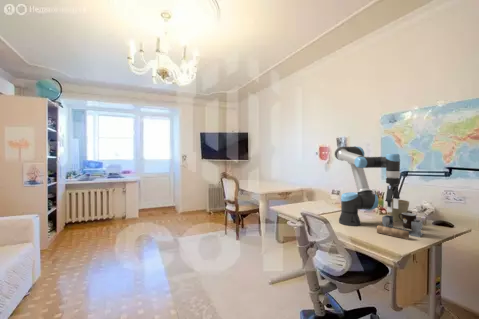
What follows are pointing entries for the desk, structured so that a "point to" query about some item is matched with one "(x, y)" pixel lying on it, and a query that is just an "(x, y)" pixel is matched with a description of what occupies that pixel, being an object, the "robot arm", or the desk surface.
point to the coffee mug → (407, 219)
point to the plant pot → (399, 210)
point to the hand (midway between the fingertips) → (392, 210)
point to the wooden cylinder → (393, 232)
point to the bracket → (414, 231)
